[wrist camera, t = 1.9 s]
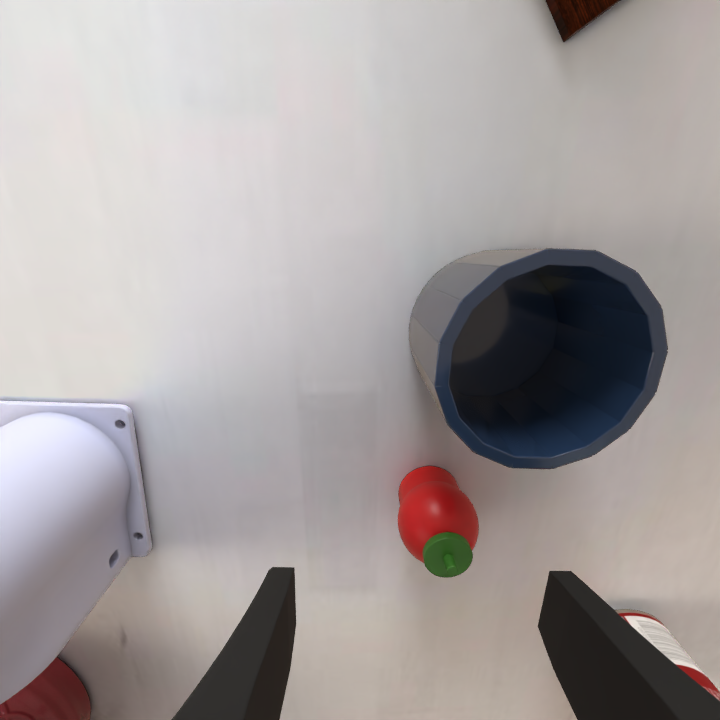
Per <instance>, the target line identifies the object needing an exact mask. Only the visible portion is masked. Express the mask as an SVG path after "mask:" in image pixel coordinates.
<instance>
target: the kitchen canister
mask: <svg viewBox="0 0 720 720" xmlns="http://www.w3.org/2000/svg"><path fill="white" fill-rule="evenodd" d="M90 714H91V708H90V701H89V698H88V694H87V692H86V690H85V688H84V686H83V684H82V682H81V681H80V679H79V678H78V677H77V675H76V674H75V673H74V672H73V671H72V670H71V669H70V668H69V667H68V666H67V665H66V664H65V663H64V662H63V661H61V660H60V659H59V658H57V657H56V658H55V659H54V660H53V661H52V662H51V663H50V664H49V666H48V667H47V668H46V669H45V670H44V671H43V672H42V673H40V674H39V675H38V676H37V677H36V678H35V679H34V680H33V681H32V682H30V683H29V684H28V685H27V686H25V687H24V688H23V689H21V690H20V691H19V692H17V693H16V694H15V695H13V696H12V697H11V698H9V699H8V700H6V701H5V702H3V703H2V704H0V720H90Z"/></svg>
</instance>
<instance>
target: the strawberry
mask: <svg viewBox="0 0 720 720" xmlns="http://www.w3.org/2000/svg"><path fill="white" fill-rule="evenodd" d="M399 501H400V508H399V513H398V528H399V533H400V536H401V539H402V541H403V543H404V545H405V546H406V548H407V549H408V551H409V552H410V553H411V554H412V555H413V556H414V557H415V558H417V559H418V560H419V561H421V562H423V563H424V564H425V566H426V568H427V569H428V570H429V571H430V572H431V573H432V574H434V575H436V576H439V577H454V576H457V575H459V574H461V573H463V572H464V571H466V570H467V569H468V567H469V566H470V564H471V562H472V558H473V554H472V550H473V548H474V546H475V544H476V542H477V537H478V531H479V524H478V518H477V514H476V511H475V508H474V506H473V504H472V503H471V501H470V500H469V498H468V497H467V496H466V495H465V494H464V493H463V492H462V491H461V490H460V489H459V487H458V485H457V483H456V480H455V479H454V477H453V476H452V475H451V474H450V473H449V472H447V471H446V470H444V469H442V468H439V467H435V466H425V467H420V468H417V469H415V470H413V471H412V472H410V473H409V474H408V475H407V476H406V477H405V478H404V479H403V481H402V482H401V484H400V487H399Z"/></svg>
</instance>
